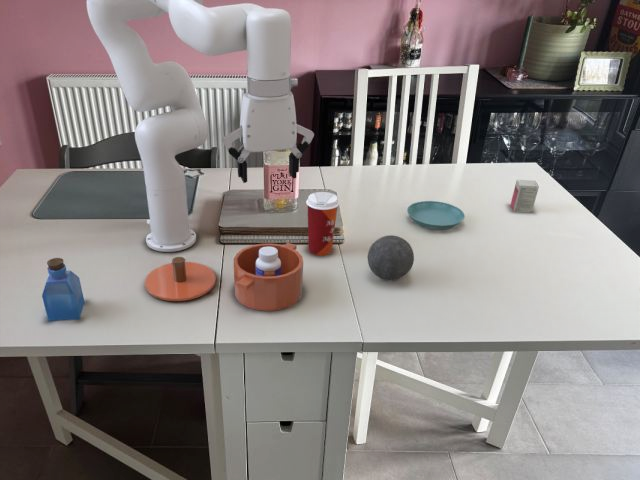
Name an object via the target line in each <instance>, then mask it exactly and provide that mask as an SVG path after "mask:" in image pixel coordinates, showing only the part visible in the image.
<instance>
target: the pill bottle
mask: <svg viewBox="0 0 640 480" xmlns="http://www.w3.org/2000/svg"><path fill="white" fill-rule="evenodd" d="M256 275H258V276H278V275H281V261H280V259H279V258H278V250H277V249H276V248H274V247H269V246H268V247H263V248H261V249H260V250H259V258H258V259H257V260H256Z"/></svg>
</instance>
